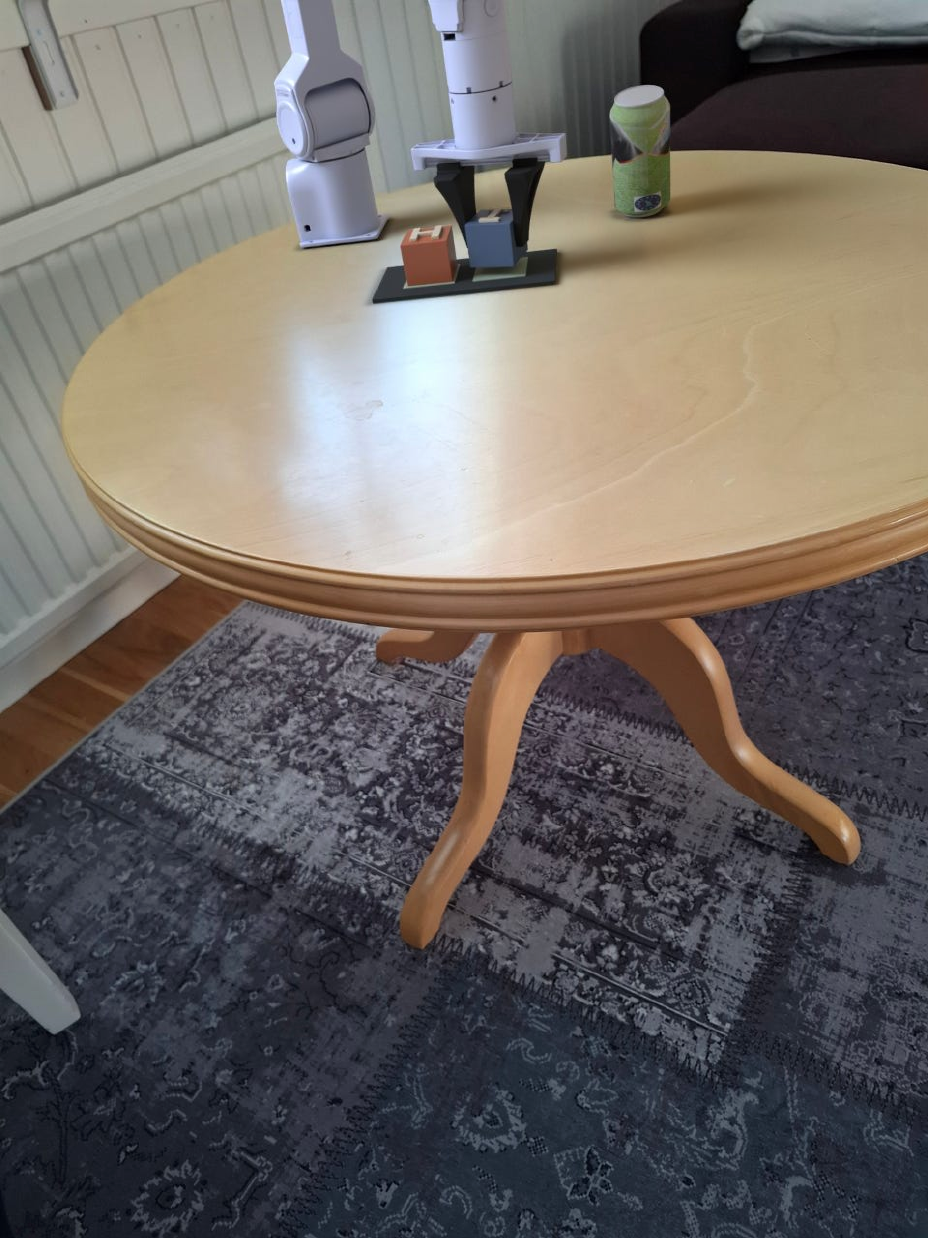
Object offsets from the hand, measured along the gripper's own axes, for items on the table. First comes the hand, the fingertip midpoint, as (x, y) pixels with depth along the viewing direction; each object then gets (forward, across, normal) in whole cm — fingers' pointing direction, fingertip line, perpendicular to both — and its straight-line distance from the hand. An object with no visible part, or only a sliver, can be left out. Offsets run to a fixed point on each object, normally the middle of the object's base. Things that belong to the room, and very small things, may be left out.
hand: (497, 244), depth 87 cm
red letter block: (+2, +7, +2) cm, 7 cm away
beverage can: (+3, -11, -17) cm, 20 cm away
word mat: (+3, +3, +1) cm, 5 cm away
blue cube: (+1, 0, 0) cm, 1 cm away
